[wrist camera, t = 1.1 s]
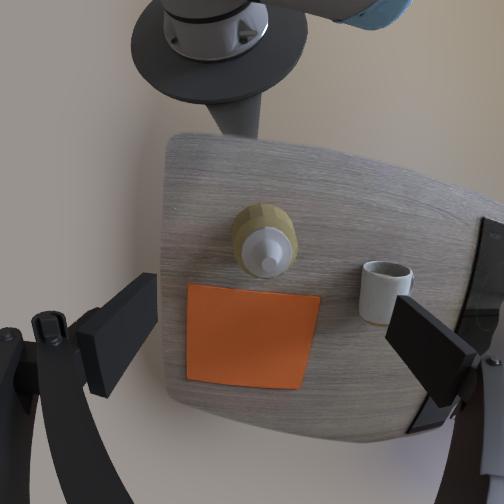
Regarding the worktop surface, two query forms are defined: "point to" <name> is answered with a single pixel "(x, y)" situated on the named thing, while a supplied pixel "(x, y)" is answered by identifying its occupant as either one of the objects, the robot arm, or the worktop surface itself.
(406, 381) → the worktop surface
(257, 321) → the napkin
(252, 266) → the squeeze bottle
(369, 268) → the ceramic mug
